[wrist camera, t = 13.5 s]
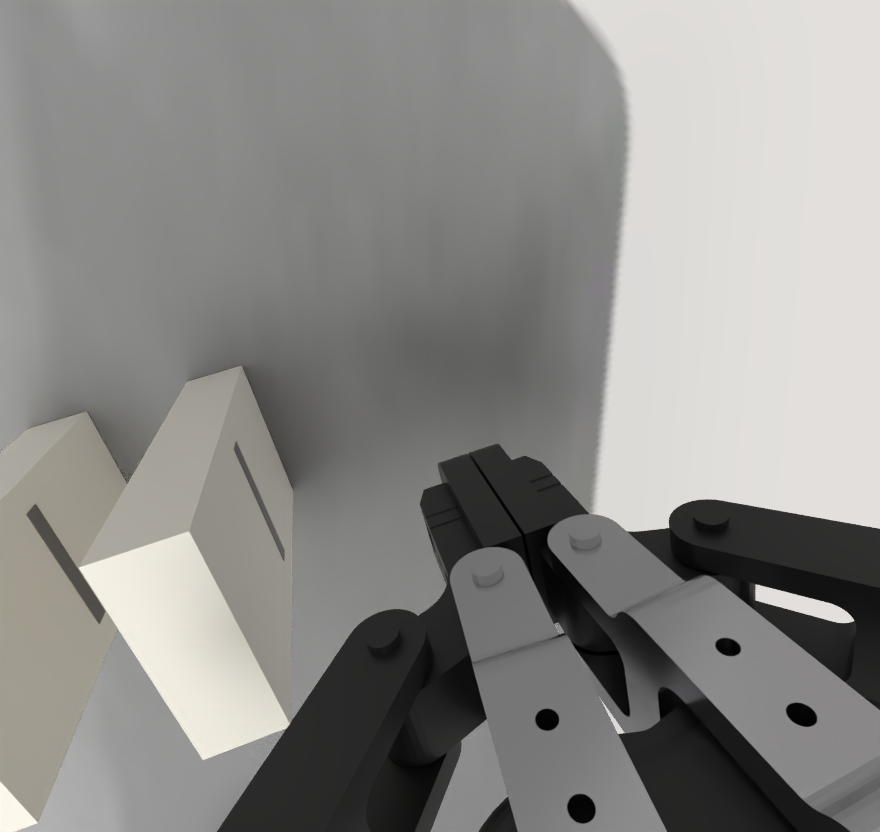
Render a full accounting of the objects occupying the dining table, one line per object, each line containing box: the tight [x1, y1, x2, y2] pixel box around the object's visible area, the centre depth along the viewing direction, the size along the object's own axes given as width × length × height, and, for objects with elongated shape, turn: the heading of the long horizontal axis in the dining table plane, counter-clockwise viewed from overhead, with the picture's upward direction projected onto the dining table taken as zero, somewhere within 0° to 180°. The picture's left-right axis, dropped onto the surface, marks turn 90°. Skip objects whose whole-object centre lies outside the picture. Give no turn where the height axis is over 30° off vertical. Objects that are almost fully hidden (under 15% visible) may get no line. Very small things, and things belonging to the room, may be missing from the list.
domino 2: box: [79, 365, 293, 760], centre depth 15 cm, size 5×2×10 cm, turn 14°
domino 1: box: [0, 411, 127, 832], centre depth 14 cm, size 5×2×10 cm, turn 14°
